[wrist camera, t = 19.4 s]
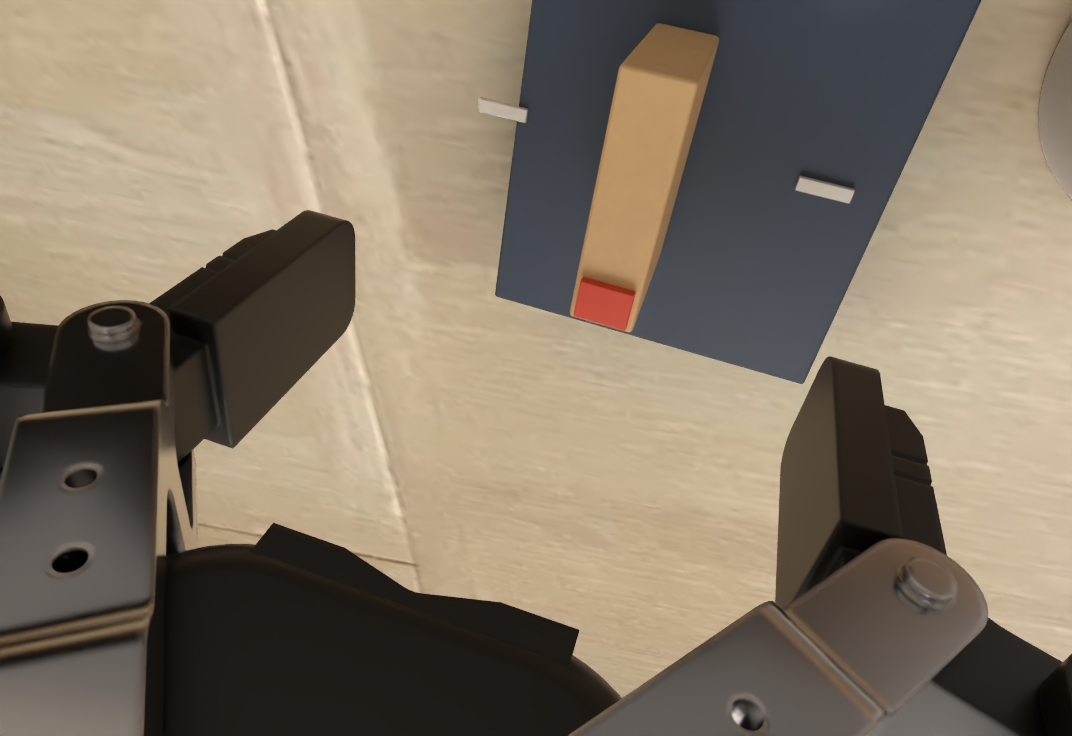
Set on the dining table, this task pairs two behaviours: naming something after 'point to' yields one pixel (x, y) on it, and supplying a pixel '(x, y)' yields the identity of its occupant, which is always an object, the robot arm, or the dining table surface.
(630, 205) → the tan rectangular block
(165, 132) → the dining table surface
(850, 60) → the console
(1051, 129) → the beige solid cylinder
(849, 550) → the robot arm
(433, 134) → the dining table surface
